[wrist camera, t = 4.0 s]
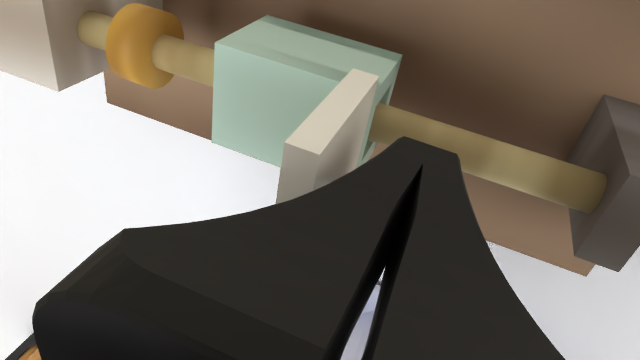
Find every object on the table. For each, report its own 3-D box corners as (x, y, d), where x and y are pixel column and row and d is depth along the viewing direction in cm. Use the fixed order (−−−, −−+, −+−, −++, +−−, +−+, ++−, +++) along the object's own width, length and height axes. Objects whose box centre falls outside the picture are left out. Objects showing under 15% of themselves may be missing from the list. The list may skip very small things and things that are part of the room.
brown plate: (583, 258, 17) (603, 403, 12) (123, 94, 21) (5, 156, 16) (790, -34, 11) (977, 33, 6) (96, -185, 15) (-100, -213, 10)
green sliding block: (374, 154, 14) (290, 304, 9) (257, 113, 15) (121, 232, 10) (406, 40, 12) (319, 154, 7) (268, 0, 13) (103, 78, 8)
